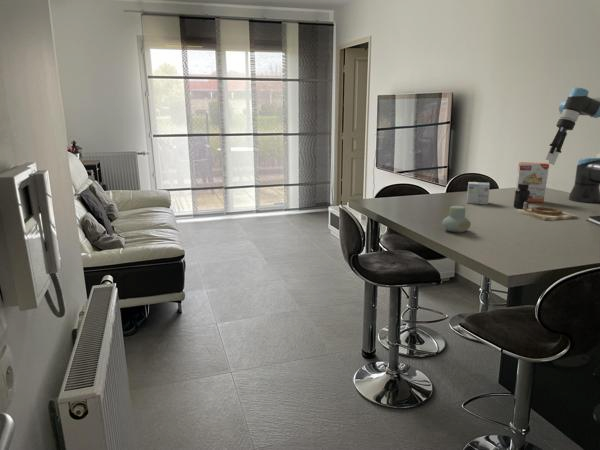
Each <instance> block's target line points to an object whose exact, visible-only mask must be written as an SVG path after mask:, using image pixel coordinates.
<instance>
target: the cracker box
mask: <svg viewBox="0 0 600 450" xmlns="http://www.w3.org/2000/svg"><path fill="white" fill-rule="evenodd" d="M549 169H550V164H548V162H531V161H530V162H527V161H519V162H518V167H517V175H516V181H515V190H514V192H515V191H516V189H518V184H528V185H529V188H528V190H529V191H530V197H529V203H540V204H542V203H543V204H544V202H545V194H546V190H547V189H546V188H547V181H548V176H549ZM514 197H515V195H514ZM514 197H513V198H514Z"/></svg>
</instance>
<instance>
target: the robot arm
mask: <svg viewBox="0 0 600 450" xmlns="http://www.w3.org/2000/svg"><path fill="white" fill-rule="evenodd" d="M589 93H590V92H589V90H587V89H586V88H583V87H573V88H572V89H571V90H570V92H569V94H568V96H567V99H566V100H563V101H562V102H560V104H559V106H558V111H559V114H561V115H560V116H559V119H558V120H557V123H556V127H557V128H558V129H557V131H556V134H555V136H554V138H553V140H552V142H551V143H550V144H549V147H550V148H549V151H548V153H547V155H546V157H545V160H546V161H548V162H547V164H549V165H553V166H554V165H556V161H557V159H558V156H559V155H560V154H562V152H563V151H562V147H563V146H564V142H565V139H566V137H567V135H568V133H567V131H573V130H574V128H575V125H576V122H577V121H578V118H579V116H589V117H590V118H593V119H594V118H595V119H597V118H600V96H599V97H590V96H589ZM574 177H575V178H574V184H573V187H572V189H571V191H570V193H569V195H568V200H570V201H573V202H581V203H589V204H590V203H591V204H594V203H600V157H594V158H593V157H591V158H590V157H589V158H588V157H587V158H579V159H578V161H577V165H576V171H575V176H574Z"/></svg>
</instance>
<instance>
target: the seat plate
mask: <svg viewBox="0 0 600 450" xmlns="http://www.w3.org/2000/svg"><path fill="white" fill-rule="evenodd" d="M527 204H528V202H524V206H523V209H519V208H516V213H519V214H522V215H525V216H529V217H532V218H535V219H538V220H542V221H555V220H569V219H572V218H574V219H578V215H576V214H573V213H568V212H565V211H563V210H562V209H559V208H556V207H550V206H533V207H531V208H527ZM528 205H529V204H528ZM572 220H573V219H572Z"/></svg>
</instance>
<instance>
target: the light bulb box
mask: <svg viewBox="0 0 600 450" xmlns="http://www.w3.org/2000/svg"><path fill="white" fill-rule="evenodd" d="M466 194H467V195H466V204H475V205H476V204H477V205H488V204H489V196H490V182H480V181H479V182H477V181H468V185H467V193H466Z"/></svg>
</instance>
